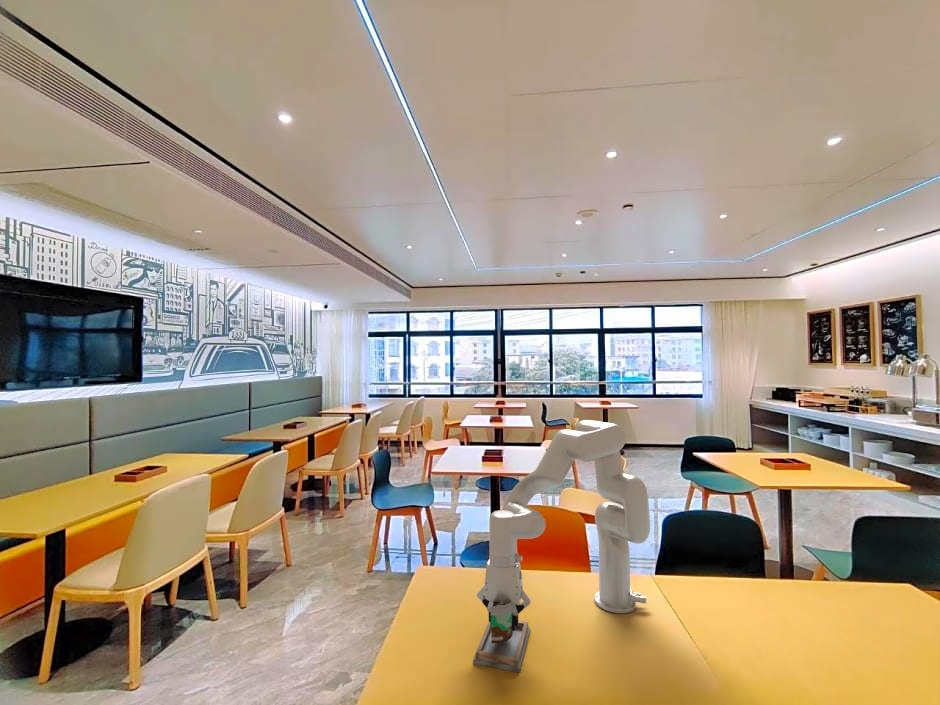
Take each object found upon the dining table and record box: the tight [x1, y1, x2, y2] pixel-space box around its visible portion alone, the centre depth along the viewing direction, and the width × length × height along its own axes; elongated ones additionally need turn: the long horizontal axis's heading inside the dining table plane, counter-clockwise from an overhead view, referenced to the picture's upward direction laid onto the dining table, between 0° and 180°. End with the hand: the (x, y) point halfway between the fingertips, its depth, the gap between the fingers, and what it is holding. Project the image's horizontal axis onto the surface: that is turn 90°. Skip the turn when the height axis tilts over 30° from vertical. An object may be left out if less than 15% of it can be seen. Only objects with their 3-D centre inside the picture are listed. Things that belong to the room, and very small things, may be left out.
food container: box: [491, 601, 517, 643], centre depth 116 cm, size 12×6×10 cm, turn 168°
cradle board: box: [472, 620, 531, 674], centre depth 116 cm, size 12×18×2 cm, turn 164°
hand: (503, 625), depth 116 cm, fingers closed on food container, 5 cm apart
